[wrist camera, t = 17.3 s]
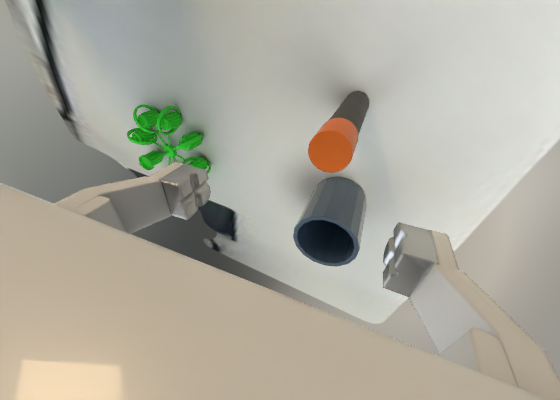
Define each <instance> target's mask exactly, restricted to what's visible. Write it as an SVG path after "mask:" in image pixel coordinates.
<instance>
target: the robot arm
mask: <svg viewBox="0 0 560 400" xmlns="http://www.w3.org/2000/svg"><path fill="white" fill-rule="evenodd" d="M207 180H208V174H207V172H206V171H205V170H203V169H200V168H196V167H193V166H190V165H186V164H183V163H179V162H174V163H172V164H170V165H169V166H167V167H165V168H163V169H162V170H160V171H158V172H156V173H155V174H153V175H151V176H149V177H146V176H145V177H140V178H135V179H131V180H125V181H120V182H115V183H110V184H105V185H101V186H95V187H90V188H85V189H83V190H81V191H79V192H77V193H75V194H73V195H71V196H69V197H67V198H65V199H63V200H61V201H59V202H57V203H55V204H53V203H50V202H48V201H45V200H43V199H40V198H38V197H35V196H33V195H30V194H27V193H25V192H22V191H20V190H17V189H15V188H12V187H10V186H7V185H5V184H2V183H0V400H560V379H559V377H558V375H557V373H556V371H555V369H554V367H553V365H552V363H551V361H550V359H549V357H548V355H547V353H546V351H545V350H544V349H543V348H542V347H541V346H540V345H538V344H537V343H536V342H535V341H534V340H533V339H532V338H531V337H530V336H529V335H528V334H527V333H526V332H525V331H524V330H523V329H522V328H521V327H520V326H519V325H518V324H517V323H516V322H515V321H514V320H513V319H512V318H511V317H510V316H509V315H508V314H507V313H506V312H505V311H504V310H503V309H501V308H500V307H499V306H498V305H497V304H496V303H495V302H494V301H493V300H492V299H491V298H490V297H489V296H488V295H487V294H486V293H485V292H484V291H483V290H482V289H481V288H480V287H479V286H478V285H477V284H476V283H475V282H474V281H473V280H472V279H471V278H470V277H469V276H467V274H466V273H464V272H461V271H459V268H458V265H457V262H456V259H455V256H454V252H453V249H452V246H451V243H450V240H449V237H448V235H447V234H444V233H440V232H436V231H432V230H426V229H422V228H418V227H414V226H411V225H407V224H403V223H398V224H397V225H396V227H395V229H394V237H393V238H390V239H389V241H388V243H387V245H386V248H385V252H384V259H383V263H384V264H385V266H386V268H385V270H384V272H383V288H386V289H389V290H391V291H394V292H397V293H399V294H402V295H405V296H407V297H409V300H410V302H411V303H412V305H413V307H414V309H415V310H416V312H417V314H418V316H419V317H420V319H421V321H422V322H423V324H424V326H425V328H426V329H427V331H428V333H429V335H430V336H431V338H432V340H433V342H434V343H435V345H436V347H437V348H438V350H439V352H440V354H438V355H434V354H432V353H429V352H427V351H424V350H422V349H419V348H417V347H414V346H412V345H409V344H407V343H404V342H402V341H399V340H397V339H394V338H392V337H389V336H386V335H384V334H381V333H379V332H376V331H374V330H371V329H369V328H366V327H364V326H361V325H359V324H356V323H354V322H351V321H349V320H346V319H343V318H341V317H339V316H336V315H333V314H331V313H328V312H326V311H323V310H321V309H318V308H316V307H313V306H311V305H308V304H306V303H303V302H300V301H298V300H295V299H293V298H290V297H288V296H285V295H282V294H280V293H278V292H275V291H273V290H270V289H267V288H265V287H262V286H260V285H257V284H255V283H252V282H250V281H247V280H245V279H242V278H239V277H237V276H235V275H232V274H230V273H227V272H224V271H222V270H220V269H217V268H215V267H212V266H209V265H207V264H204V263H202V262H199V261H197V260H194V259H192V258H189V257H187V256H184V255H181V254H179V253H177V252H174V251H172V250H169V249H166V248H164V247H161V246H159V245H156V244H154V243H151V242H149V241H146V240H144V239H141V238H139V237H136V236H133V235H131V234H130V233H132V232H135V231H137V230H140V229H142V228H144V227H147V226H149V225H151V224H154V223H156V222H158V221H161V220H163V219H165V218H168V217H170V216H171V215H173V216H176V217H179V218H183V219H186V220H188V219H189V218H190V217H191V216H192V215H193V214H194V213H195V212H196V211H197V207H200V206H203V205H204V204H205V203H206V202H207V201H208V199H209V197H210V187H209V185H208V184H207Z"/></svg>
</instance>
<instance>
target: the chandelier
mask: <svg viewBox="0 0 560 400" xmlns="http://www.w3.org/2000/svg"><path fill="white" fill-rule="evenodd" d="M140 107H146V108H149V109H151V110H150V111H147V112H144V113H142V114H141V115H139V116H138V119H137V116H136V112H137V109H138V108H140ZM169 109H175V110H176V112H168V113H165V112H166V111H168V110H169ZM164 113H165V114H164ZM133 116H134V120H135V122H136V124H137V125H138V126H139V127H140V128H135V129H131V130H130V131H128V133H127V136H128V139H129V140H130V141H131V142H133V143H136V144H141V145H148V144H153V143H154V144H156V145H158V146H160V147H162V148H163V149H164V153H163V152H162V153H160V152H158V151H152V152H150V153H148V154H146V155H142V156H140V157H139V161H140V163H139V164H140V165H141V166H143V167H144V168H145V169H147V170H151V169H153V168H154V165H156V164H158V163H159V162H161V161H162V159H163V157H162V156H163V155H165V154H166V155H167V156H169V165H170V157H173V159H174V160H175V162H177V161H176V159H175V156H178V157H180V158H181V159H183V160H184V161H183V164H185V163H186V162H188V161H191V160H193V161H191V162H190V163H189V164H188V165H190V166H193V167H196V168H200V169H203V170H205V169H206V168H207V165H208V166H209V170H208V171H206V172H207V174H208V173H209V172H210V169H211V166H210V163H209V162H208V161H206V160H205V159H204V158H202V157H190V158H187V159H184V158H183V157H181V156H179V155H177V154H176V150H175V149H180V148H182V149H184V150H192V149H194V148H195V147H197V146H199V145H200V144H201V138H203V135H202V134H201V135H199V134H197V133H195V132H191V133H189V134H187V135H185V136H183V137H182V138H181V139H180V140H179V145H178V146H176V147H175V148H174V147H173V146H172V145H171V144H170V134H172V133H173V132H175V130H176V129H177V128H178V126H179V125H180V124H181V115H180V112H179V110H178V109H177V108H175V107H173V106H168V107H165V108H164V109H163V110H162V111H161V112H160V113H158V111H157V110H155V109H154V108H153V107H151V106H148V105H140V106H138V107H137V108H135V110H134V113H133ZM155 125H157V128H158V131H152V130H151V129H150V128H146V127H152V126H155ZM162 128H163V129H165V130H166V129H172V128H173V129H172V130H170V131H169V132H162V130H161V129H162ZM133 132H134V133H133ZM158 132H161V133H162V134H164V135H168V140H169V144H166V143H165V142H164V140H163V139H162V137H161V136H160V134H159V133H158ZM131 133H133V134H132V137H130V136H129V135H130V134H131ZM156 133H157V134H158V135H159V137H160V139H161V140H162V142H163V143H164V145H165V146H164V147H163V146H161V145H159V144H157V143H156V141H157V134H156ZM154 135H155V136H154ZM154 137H156V138H155V139H154ZM153 139H154V140H153ZM151 140H152V141H151Z"/></svg>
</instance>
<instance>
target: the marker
mask: <svg viewBox="0 0 560 400" xmlns="http://www.w3.org/2000/svg"><path fill="white" fill-rule="evenodd" d="M368 107H369V99H368V97H367V95H366V94H365V93H363V92H360V91H356V92H353V93H351V94H349V95H348V96H347V98H346V99H345V100H344V102H343V103H342V104H341V105H340V107H339V108H338V109H337V111H336V112H335V113H334V114H333V116H332V117H331V118H330V119H329V121H327V122H326V123H325V124H324V125H323V126H322V127H321V129H320V130H319V131H318V132H317V134H316V135H315V136H314V137H313V139H312V140H311V142H310V144H309V148H308V154H309V158H310V160H311V162H312V163H313V165H314V166H315V167H317V168H318V169H320V170H322V171H324V172H330V173H332V172H338V171H341V170H343V169H344V168H345V167H347V166H348V164H349V163H350V161H351V159H352V156H353V153H354V150H355V147H356V144H357V142H358V134H359V132H360V129H361V126H362V123H363V121H364V118H365V115H366V112H367V109H368Z"/></svg>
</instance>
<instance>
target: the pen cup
mask: <svg viewBox="0 0 560 400" xmlns="http://www.w3.org/2000/svg"><path fill="white" fill-rule="evenodd" d="M365 211H366V196H365V194H364V192H363V190H362V189H361V187H360V186H359V185H358V184H356V183H355V182H353V181H351V180H349V179H346V178H342V177H333V178H328V179H326V180H323V181H322V182H321V183H319V184H318V185H317V187H316V188H315V190H314V191H313V193H312V195H311V197H310V199H309V201H308V203H307V205H306V207H305V209H304V211H303V213H302V214H301V216H300V218H299V220H298V222H297V224H296V226H295V228H294V235H293V238H294V241H295V243H296V246H297V247H298V249H299V250H300V251H301V252H302V253H303V254H304V255H305V256H306V257H308V258H309V259H311V260H312V261H314V262H317V263H320V264H323V265H327V266H341V265H345V264H348V263H350V262H351V261H352V260H354V259H355V258H356V256H357V254H358V251H359V248H360V242H361V236H362V230H363V223H364V217H365Z"/></svg>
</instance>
